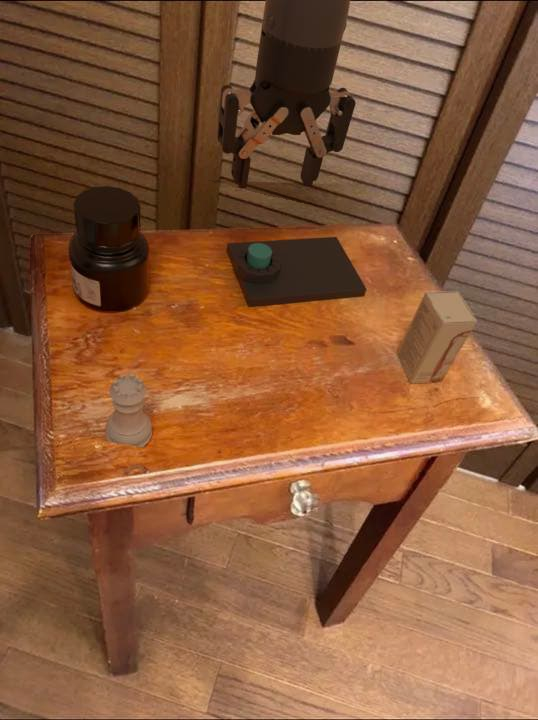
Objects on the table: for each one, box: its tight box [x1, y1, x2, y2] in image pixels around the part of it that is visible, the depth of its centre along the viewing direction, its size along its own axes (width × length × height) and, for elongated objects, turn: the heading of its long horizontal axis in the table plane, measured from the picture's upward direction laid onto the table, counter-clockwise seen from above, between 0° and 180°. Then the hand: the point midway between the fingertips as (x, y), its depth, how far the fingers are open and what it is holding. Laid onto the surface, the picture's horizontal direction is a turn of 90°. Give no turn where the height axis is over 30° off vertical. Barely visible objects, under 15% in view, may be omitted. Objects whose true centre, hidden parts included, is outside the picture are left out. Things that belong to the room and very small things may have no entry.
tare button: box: [247, 243, 272, 269], centre depth 74 cm, size 3×3×2 cm
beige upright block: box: [396, 291, 478, 384], centre depth 67 cm, size 5×4×10 cm
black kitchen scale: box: [226, 236, 367, 308], centre depth 77 cm, size 16×11×3 cm, turn 107°
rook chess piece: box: [105, 372, 153, 448], centre depth 55 cm, size 4×4×8 cm
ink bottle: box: [68, 185, 150, 313], centre depth 66 cm, size 10×9×12 cm
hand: (273, 183), depth 66 cm, fingers open, 7 cm apart
